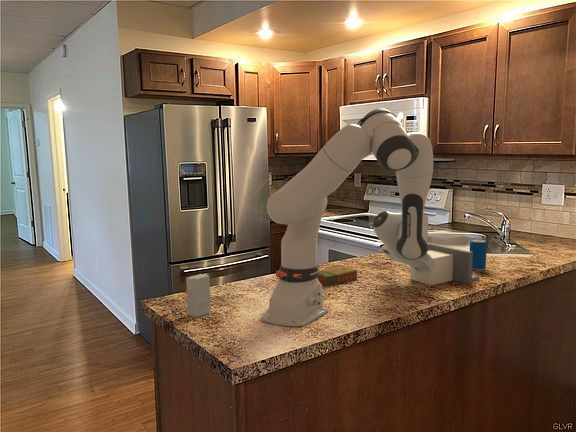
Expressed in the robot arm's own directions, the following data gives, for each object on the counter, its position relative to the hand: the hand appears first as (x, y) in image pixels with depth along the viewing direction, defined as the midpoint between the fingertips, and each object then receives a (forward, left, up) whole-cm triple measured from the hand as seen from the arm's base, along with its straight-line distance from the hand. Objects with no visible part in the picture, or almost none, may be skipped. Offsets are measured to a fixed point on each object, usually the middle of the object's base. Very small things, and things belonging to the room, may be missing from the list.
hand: (419, 269), depth 174 cm
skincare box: (-60, +58, -5) cm, 83 cm away
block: (+5, -4, -5) cm, 8 cm away
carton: (-9, +30, -5) cm, 32 cm away
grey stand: (+14, -10, -5) cm, 18 cm away
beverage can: (+28, -19, -5) cm, 35 cm away
